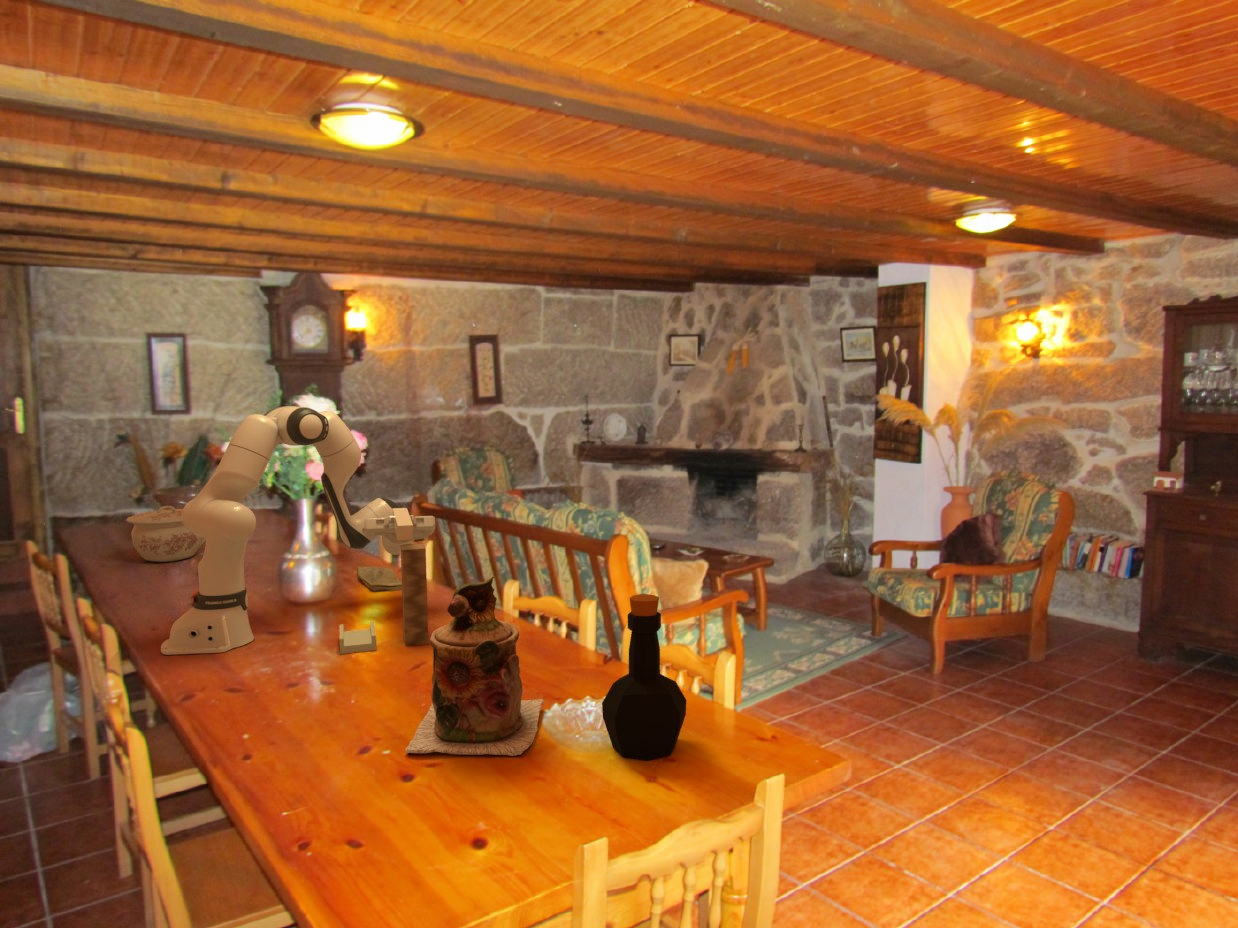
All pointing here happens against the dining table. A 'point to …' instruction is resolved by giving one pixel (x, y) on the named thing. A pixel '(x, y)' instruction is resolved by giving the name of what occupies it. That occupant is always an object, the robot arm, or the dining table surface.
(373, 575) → the stone slab
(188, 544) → the chamber pot
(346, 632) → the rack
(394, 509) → the beige rectangular bar
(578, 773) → the dining table surface
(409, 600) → the plinth
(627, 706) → the bottle
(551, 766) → the dining table surface
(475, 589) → the cookie jar
